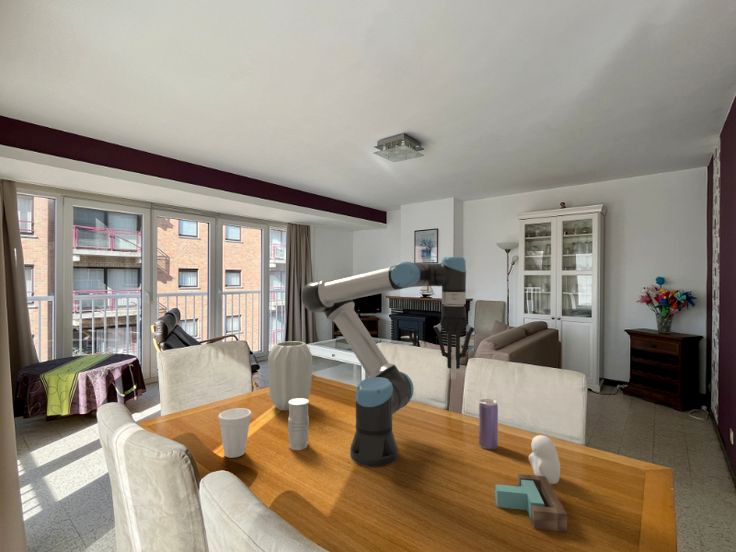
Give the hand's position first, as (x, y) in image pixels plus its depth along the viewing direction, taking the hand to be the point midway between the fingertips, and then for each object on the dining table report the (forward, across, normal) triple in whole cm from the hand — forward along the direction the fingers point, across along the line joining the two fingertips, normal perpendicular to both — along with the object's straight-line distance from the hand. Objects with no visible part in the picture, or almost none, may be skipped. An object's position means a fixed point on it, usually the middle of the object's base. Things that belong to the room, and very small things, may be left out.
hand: (453, 378), depth 120 cm
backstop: (+24, +20, -25) cm, 40 cm away
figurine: (+25, +25, -10) cm, 36 cm away
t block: (+25, +14, -25) cm, 38 cm away
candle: (+25, -51, -3) cm, 57 cm away
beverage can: (+25, +12, +8) cm, 29 cm away
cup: (+25, -69, -12) cm, 74 cm away
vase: (+25, -68, +33) cm, 79 cm away
